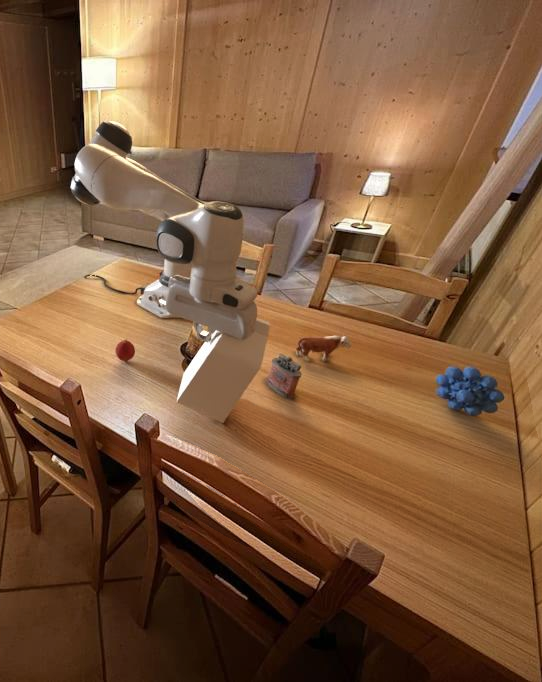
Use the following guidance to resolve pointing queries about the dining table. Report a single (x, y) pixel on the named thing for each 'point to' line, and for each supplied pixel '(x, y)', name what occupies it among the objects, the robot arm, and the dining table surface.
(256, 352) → the milk
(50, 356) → the dining table surface
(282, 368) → the red grey filled tin
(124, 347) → the onion
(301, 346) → the bull figurine
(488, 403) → the grapes
